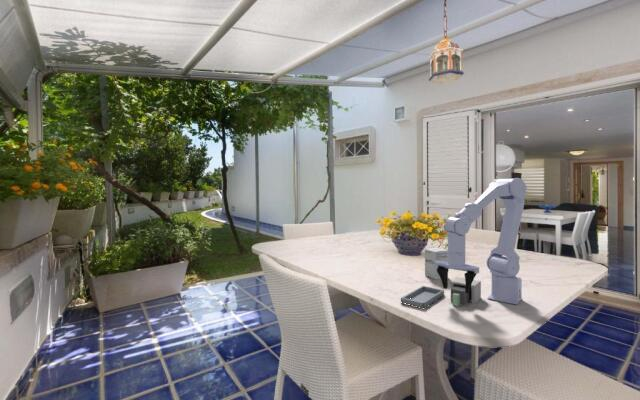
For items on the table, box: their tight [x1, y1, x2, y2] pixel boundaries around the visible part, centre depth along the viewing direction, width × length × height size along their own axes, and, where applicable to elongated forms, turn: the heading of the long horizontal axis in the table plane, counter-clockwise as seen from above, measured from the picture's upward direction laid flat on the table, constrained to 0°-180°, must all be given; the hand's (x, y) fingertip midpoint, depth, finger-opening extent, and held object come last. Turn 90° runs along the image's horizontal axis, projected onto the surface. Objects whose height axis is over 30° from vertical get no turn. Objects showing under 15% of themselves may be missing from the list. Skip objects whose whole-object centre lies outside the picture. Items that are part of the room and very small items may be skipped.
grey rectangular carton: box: [450, 285, 472, 307], centre depth 119 cm, size 10×5×5 cm, turn 137°
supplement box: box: [424, 247, 448, 280], centre depth 150 cm, size 7×7×13 cm
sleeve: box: [450, 276, 482, 304], centre depth 123 cm, size 7×8×6 cm
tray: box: [400, 285, 445, 309], centre depth 123 cm, size 9×18×2 cm, turn 137°
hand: (456, 290), depth 116 cm, fingers open, 7 cm apart
